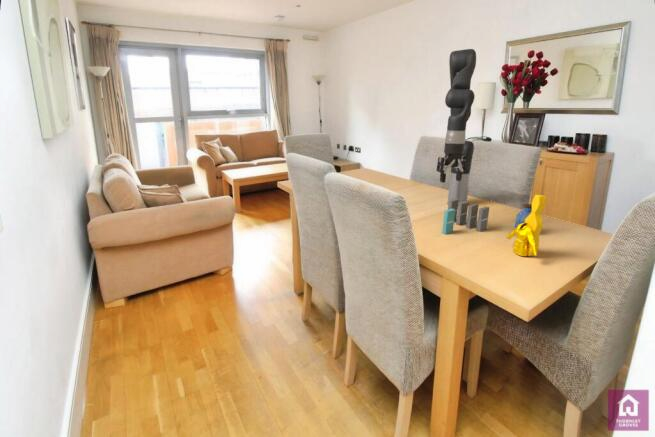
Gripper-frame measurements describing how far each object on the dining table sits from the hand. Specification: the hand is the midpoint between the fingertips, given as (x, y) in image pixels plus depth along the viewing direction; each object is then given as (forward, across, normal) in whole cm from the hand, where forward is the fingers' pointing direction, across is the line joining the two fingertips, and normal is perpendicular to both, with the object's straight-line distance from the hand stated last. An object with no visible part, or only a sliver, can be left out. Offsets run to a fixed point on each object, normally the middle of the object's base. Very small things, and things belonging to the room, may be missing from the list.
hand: (450, 181), depth 150 cm
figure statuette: (+22, -8, +32) cm, 40 cm away
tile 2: (+21, -11, -2) cm, 24 cm away
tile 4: (+21, -13, +8) cm, 26 cm away
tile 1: (+20, -10, -7) cm, 24 cm away
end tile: (+21, +2, +4) cm, 21 cm away
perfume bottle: (+21, -27, +17) cm, 38 cm away
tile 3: (+21, -12, +3) cm, 24 cm away
